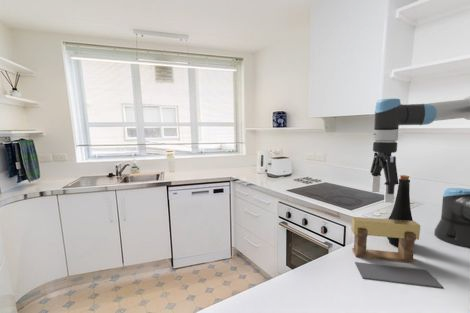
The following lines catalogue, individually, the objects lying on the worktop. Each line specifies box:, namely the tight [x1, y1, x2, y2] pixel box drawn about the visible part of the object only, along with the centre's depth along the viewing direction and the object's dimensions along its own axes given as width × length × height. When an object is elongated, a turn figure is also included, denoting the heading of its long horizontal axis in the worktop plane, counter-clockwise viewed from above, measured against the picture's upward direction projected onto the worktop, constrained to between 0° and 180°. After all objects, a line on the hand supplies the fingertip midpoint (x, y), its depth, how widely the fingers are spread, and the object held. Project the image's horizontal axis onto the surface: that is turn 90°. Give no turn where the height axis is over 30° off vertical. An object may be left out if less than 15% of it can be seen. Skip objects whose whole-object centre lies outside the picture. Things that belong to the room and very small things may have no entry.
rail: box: [350, 216, 421, 241], centre depth 88 cm, size 22×4×6 cm, turn 77°
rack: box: [351, 229, 417, 264], centre depth 89 cm, size 20×6×11 cm, turn 77°
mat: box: [354, 261, 444, 289], centre depth 78 cm, size 23×9×1 cm, turn 77°
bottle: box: [386, 174, 414, 248], centre depth 97 cm, size 11×11×30 cm
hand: (381, 196), depth 88 cm, fingers open, 13 cm apart
